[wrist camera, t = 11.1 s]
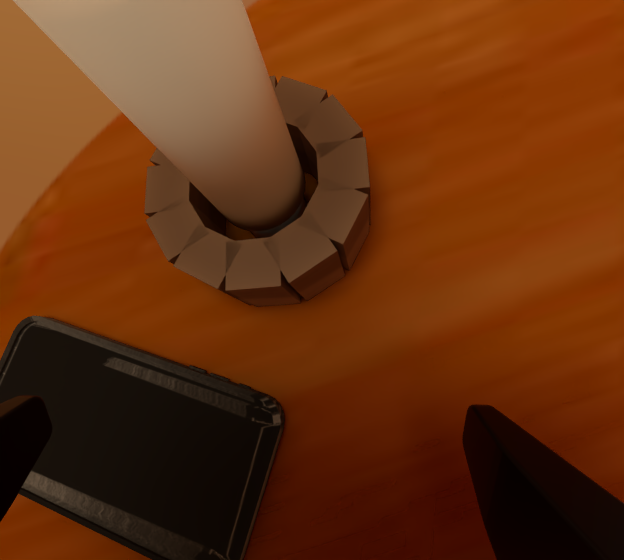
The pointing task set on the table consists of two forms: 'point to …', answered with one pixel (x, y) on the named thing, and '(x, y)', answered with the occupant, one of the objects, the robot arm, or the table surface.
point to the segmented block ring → (293, 238)
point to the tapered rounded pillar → (190, 95)
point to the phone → (143, 442)
